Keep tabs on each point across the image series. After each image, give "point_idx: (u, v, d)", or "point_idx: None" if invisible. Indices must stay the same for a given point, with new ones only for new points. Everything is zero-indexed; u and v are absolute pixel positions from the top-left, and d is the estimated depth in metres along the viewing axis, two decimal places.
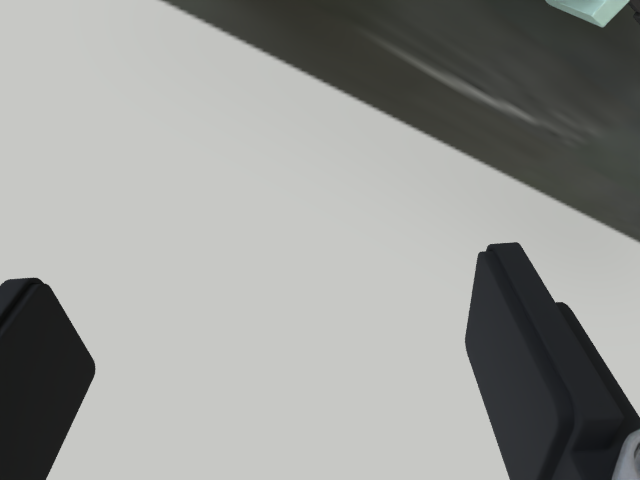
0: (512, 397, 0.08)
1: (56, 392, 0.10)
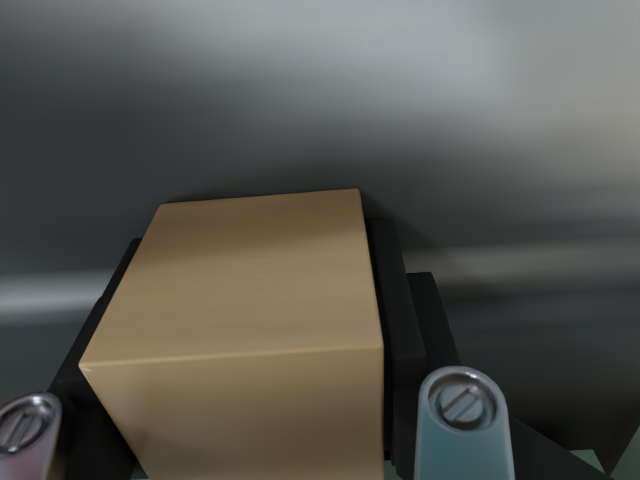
0: None
1: None
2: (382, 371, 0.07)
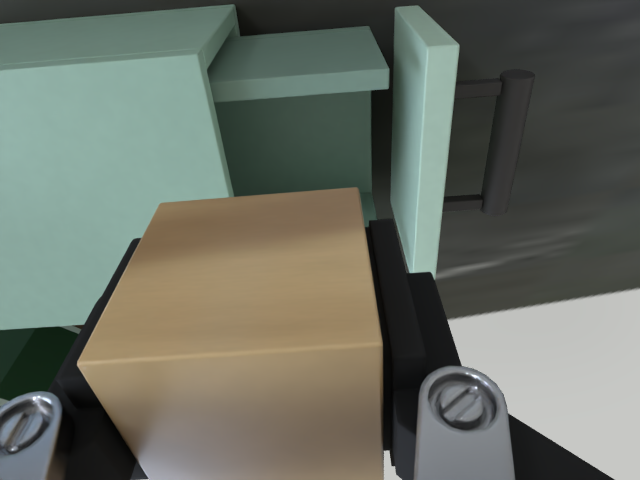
0: None
1: None
2: (381, 370, 0.07)
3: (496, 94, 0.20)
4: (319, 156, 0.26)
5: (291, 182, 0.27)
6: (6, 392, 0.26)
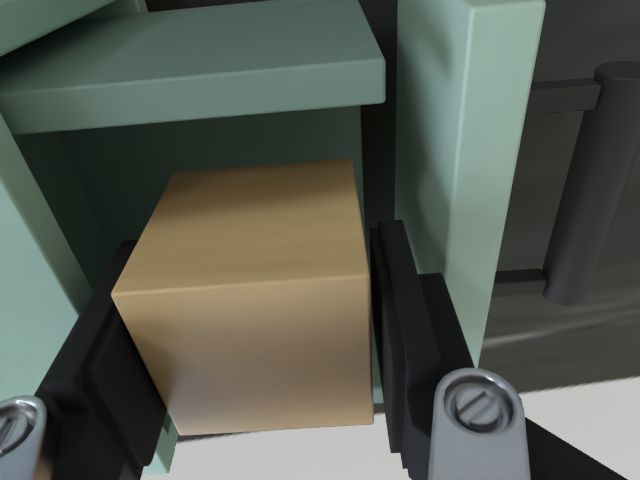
0: (383, 354, 0.09)
1: None
2: (369, 300, 0.08)
3: (588, 107, 0.11)
4: None
5: None
6: None
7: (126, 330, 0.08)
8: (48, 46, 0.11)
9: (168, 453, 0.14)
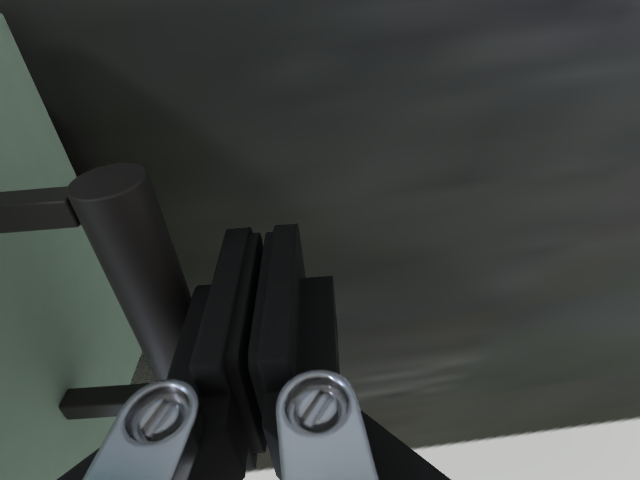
0: None
1: None
2: None
3: (67, 225, 0.08)
4: None
5: None
6: None
7: (249, 316, 0.08)
8: None
9: None
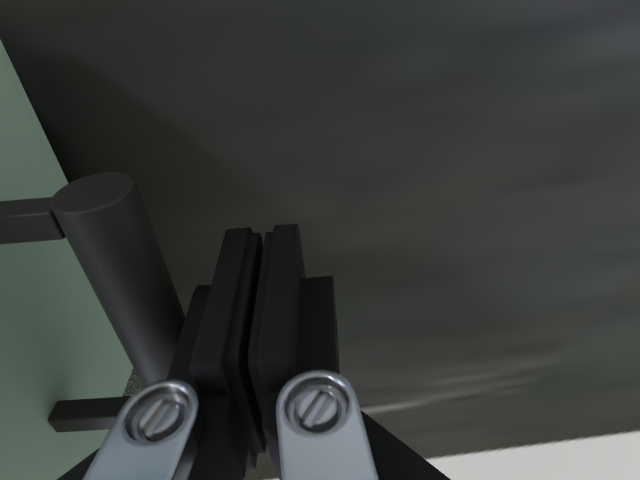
0: None
1: None
2: None
3: (52, 237, 0.08)
4: None
5: None
6: None
7: (249, 316, 0.08)
8: None
9: None
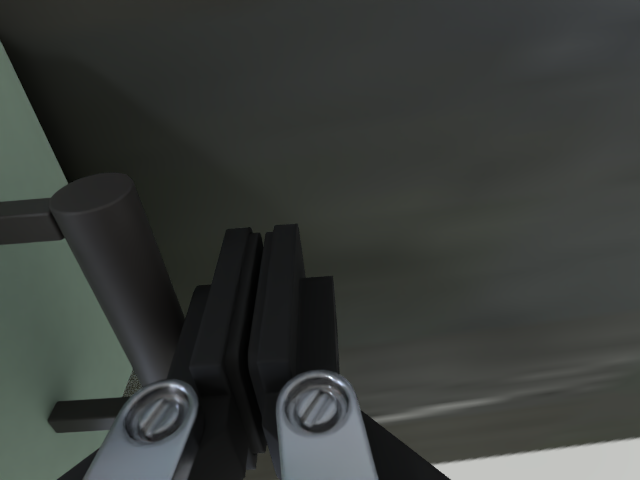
0: None
1: None
2: None
3: (51, 238, 0.08)
4: None
5: None
6: None
7: (249, 316, 0.08)
8: None
9: None
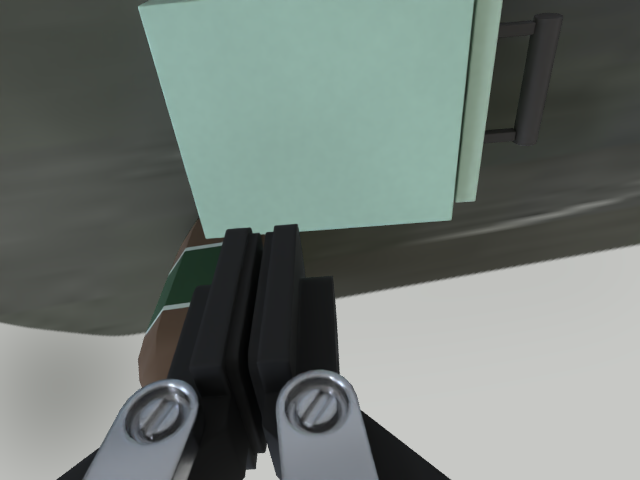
0: None
1: None
2: None
3: (530, 33, 0.24)
4: None
5: None
6: None
7: (249, 316, 0.08)
8: None
9: None
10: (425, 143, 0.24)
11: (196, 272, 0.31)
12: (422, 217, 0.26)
